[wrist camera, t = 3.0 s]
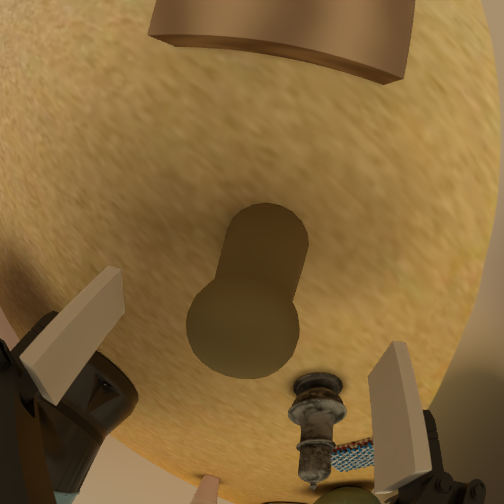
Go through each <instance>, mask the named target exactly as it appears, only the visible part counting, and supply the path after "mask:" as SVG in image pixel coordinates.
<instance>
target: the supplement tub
mask: <svg viewBox="0 0 504 504" xmlns="http://www.w3.org/2000/svg"><path fill="white" fill-rule="evenodd" d="M269 504H299V503H269Z"/></svg>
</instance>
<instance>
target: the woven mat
mask: <svg viewBox="0 0 504 504" xmlns="http://www.w3.org/2000/svg"><path fill="white" fill-rule="evenodd" d="M371 440H373V438H369V439H365V440H362V441H358V442H356V443H355V442H353V443H349V444H345V445H341V446H336V447H335V448H334V449H333V450H332V452H331V465H332V467H335V468H336V469H337V470H338V471H339V470H340V472H342V471H343V470H345V471H346V472H347V471H348V470H347V469H349V470H352V468H353V469H355V470H356V469H357V468H361V467H363V468H365V466H370V464H371V465H372V466H374V446H373V441H371ZM367 441H368V443H367ZM361 443H362V444H361ZM345 447H346V448H345ZM340 448H341V449H340ZM335 449H336V450H335Z"/></svg>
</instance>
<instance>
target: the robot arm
mask: <svg viewBox="0 0 504 504" xmlns="http://www.w3.org/2000/svg"><path fill="white" fill-rule="evenodd" d="M124 313H125V304H124V295H123V284H122V272H121V269H119V268H116V267H113V266H110V265H108V266H107V267H106V268H105V269H104V270H103V271H102V272H101V273H99V274H98V275H97V276H96V277H95V278H94V279H93V280H92V281H91V282H90V283H89V284H88V285H87V286H86V287H85V288H84V289H83V290H82V291H81V292H80V293H79V294H78V295H77V296H76V297H75V298H74V299H73V300H72V301H71V302H70V303H69V304H68V305H67V306H66V307H65V308H64V309H63V310H62V311H61V312H60V313H58V312H56V311H52V312H50V313H48V314H46V315H44V316H43V317H42V318H41V319H40V320H39V321H38V322H37V325H36V324H35V326H34V327H33V328H32V329H31V331H29V332H28V333H27V334H26V335H25V336H24V337H23V338H22V339H21V340H20V342H19V343H18V344H17V345H16V346H15V347H14V348H13V349H12V350H11V351H9V349H8V347H7V345H6V343H5V342H4V340H2V339H0V504H72V502H73V500H74V499H75V497H76V495H78V494H79V492H80V488H81V486H82V484H83V482H84V479H85V477H86V475H87V473H88V471H89V469H90V467H91V465H92V463H93V461H94V459H95V457H96V455H97V453H98V451H99V449H100V446H101V445H102V443H103V441H104V439H105V437H106V436H107V435H108V434H109V433H110V432H111V431H113V430H114V429H115V428H116V427H117V426H118V425H119V424H121V423H122V422H123V421H124V420H125V419H126V418H127V417H128V416H130V415H131V413H132V412H133V410H134V408H135V406H136V404H137V402H138V396H137V393H136V391H135V389H134V387H133V386H132V384H131V383H130V381H129V380H128V379H127V378H126V377H125V376H124V374H123V373H122V372H121V371H120V370H119V369H117V368H116V367H115V366H114V365H113V364H112V363H111V362H109V361H108V360H107V359H106V358H104V357H103V356H102V355H100V354H99V353H97V352H96V350H97V348H98V347H99V346H100V344H101V343H102V342H103V340H104V339H105V338H106V336H107V335H108V334H109V332H110V331H111V330H112V329H113V327H114V326H115V325H116V323H117V322H118V321H119V320H120V318H121V317H122V316H123V314H124ZM368 383H369V392H370V402H371V414H372V428H373V446H374V490H375V491H374V494H380V493H391V492H393V491H395V490H397V489H398V491H399V494H397V495H395V496H393V497H391V498H389V499H387V500H386V501H385V503H388V502H390V501H391V502H390V504H484V500H485V495H486V489H485V485H484V483H483V482H482V481H481V480H479V479H474V480H472V481H471V482H469V483H467V484H466V483H461V482H456V481H453V478H452V477H451V475H450V474H449V473H447V472H444V469H443V464H442V457H441V451H440V445H439V440H438V434H437V432H436V430H437V428H436V423H435V419H434V417H433V416H432V414H431V412H430V410H422V405H421V400H420V396H419V391H418V387H417V383H416V379H415V375H414V371H413V367H412V363H411V359H410V356H409V352H408V348H407V345H406V343H404V342H399V341H392V342H391V344H390V345H389V347H388V348H387V350H386V351H385V353H384V354H383V356H382V357H381V359H380V360H379V362H378V363H377V364H376V366H375V367H374V369H373V370H372V371H371V373H370V374H369V375H368Z"/></svg>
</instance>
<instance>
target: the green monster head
mask: <svg viewBox="0 0 504 504" xmlns="http://www.w3.org/2000/svg"><path fill="white" fill-rule="evenodd" d="M314 504H381V503H380V501H379V499H378V498H377V497H376V496H375V495H374V494H372V493H371V492H370V491H367V490H365V489H362V488H358V487H348V486H345V487H341V488H337V489H335V490H332V491H329V492H327V493H325V494H324V495H322V496H321V497H320V498H318V499H317V500H316V501H315V503H314Z"/></svg>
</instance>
